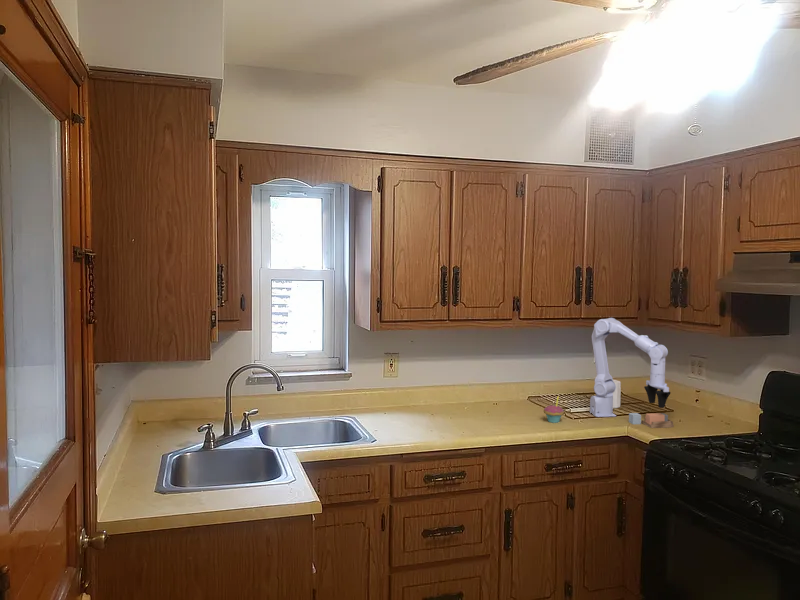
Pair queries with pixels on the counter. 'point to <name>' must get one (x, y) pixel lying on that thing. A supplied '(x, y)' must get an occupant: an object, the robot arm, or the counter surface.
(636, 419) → the pale blue-grey cube
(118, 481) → the counter surface
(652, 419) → the two-tone peach block
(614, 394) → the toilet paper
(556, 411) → the cupcake
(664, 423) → the jig
